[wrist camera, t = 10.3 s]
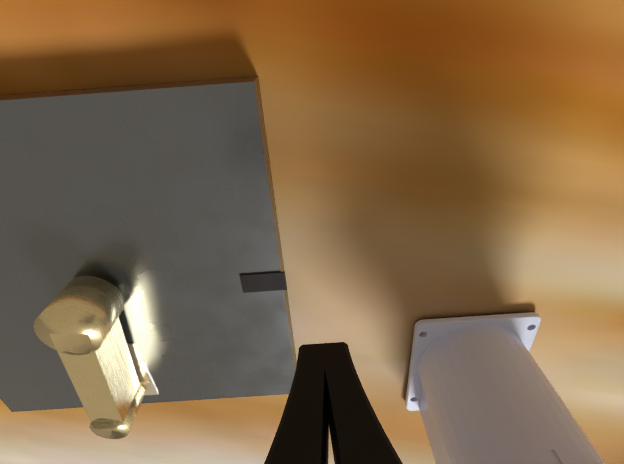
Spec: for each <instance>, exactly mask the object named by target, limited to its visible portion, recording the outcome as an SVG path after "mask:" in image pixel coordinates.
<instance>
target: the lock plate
mask: <svg viewBox="0 0 624 464" xmlns="http://www.w3.org/2000/svg"><path fill="white" fill-rule="evenodd" d="M80 276H94V277H98V278H101V279H104V280H106V281H108V282H110V283H112V284H113V285H114V286H116V287H117V288H118V289H119V290H120V292H121V293H122V295H123V297H124V301H125V305H124V309H123V310H122V312H121V314H120V315H119V320H120V323H121V327H122V330H123V333H124V336H125V339H126V343H127V346H128V349H129V352H130V355H131V358H132V362H133V365H134V368H135V371H136V374H137V377H138V381H139V384H140V385H141V386H142V387H143V388H144V390H145V395H144V397H143V400H142V402H141V403H156V402H171V401H187V400H202V399H218V398H233V397H249V396H264V395H280V394H289V393H290V390H291V386H292V382H293V379H294V375H295V370H296V366H297V362H296V354H295V347H294V339H293V332H292V325H291V317H290V310H289V302H288V295H287V286H286V278H285V271H284V265H283V258H282V250H281V243H280V236H279V228H278V221H277V213H276V206H275V198H274V191H273V184H272V176H271V169H270V161H269V154H268V147H267V139H266V132H265V124H264V117H263V109H262V102H261V95H260V87H259V80H258V76H254V77H241V78H227V79H214V80H201V81H187V82H174V83H161V84H147V85H134V86H121V87H108V88H94V89H81V90H68V91H54V92H41V93H28V94H14V95H1V96H0V399H1V400H2V401H3V402H4V403H5V404H6V406H7V407H8V408H9V409H10V410H11V411H12V412H16V411H32V410H47V409H63V408H78V407H83V405H82V403H81V400H80V398H79V396H78V394H77V392H76V390H75V388H74V386H73V384H72V381H71V379H70V377H69V375H68V373H67V371H66V369H65V367H64V364H63V362H62V360H61V358H60V356H59V354H58V352H57V351H56V350H54V349H52V348H50V347H49V346H47V345H46V344H44V343H43V342H42V341H41V340H40V339H39V338H38V336H37V335H36V333H35V330H34V322H35V320H36V318H37V317H38V316H39V315H40V314H41V313H42V311H43V310H44V309H45V308H46V307H47V306H48V305H49V304H50V302H51V301H52V300H53V299H54V298H55V297H56V296H57V295H58V293H59V292H60V291H61V290H62V289H63V288H64V287H65V286H66V284H67V283H68V282H69V281H70V280H72V279H74V278H76V277H80Z"/></svg>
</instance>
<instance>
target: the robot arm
mask: <svg viewBox="0 0 624 464" xmlns="http://www.w3.org/2000/svg"><path fill="white" fill-rule="evenodd" d="M540 322H541V318H540V316H539V315H538V314H537V313H535V312H529V313H514V314H499V315H484V316H469V317H454V318H439V319H424V320H419V321H418V322H417V323H416V324H415V328H414V336H413V344H412V352H411V360H410V368H409V376H408V384H407V392H406V401H405V405H406V409H408V410H410V411H415V410H420V413H421V416H422V419H423V423H424V426H425V429H426V432H427V436H428V439H429V442H430V446H431V449H432V452H433V455H434V459H435V462H436V464H606V463H605V462H604V461H603V459H602V458H601V456H600V455H599V453H598V452H597V450H596V449H595V447H594V446H593V445H592V443H591V442H590V440H589V439H588V437H587V436H586V434H585V433H584V431H583V430H582V428H581V427H580V426H579V424H578V423H577V421H576V420H575V418H574V417H573V415H572V414H571V412H570V411H569V410H568V408H567V407H566V405H565V404H564V402H563V401H562V399H561V398H560V396H559V395H558V394H557V392H556V391H555V389H554V388H553V386H552V385H551V383H550V382H549V380H548V379H547V377H546V376H545V375H544V373H543V372H542V370H541V369H540V367H539V366H538V364H537V363H536V361H535V360H534V359H533V357H532V356H531V354H530V353H529V351H530V348H531V345H532V343H533V340H534V338H535V335H536V332H537V330H538V327H539V325H540ZM421 332H422V333H421ZM329 428H330V435H331V441H332V448H333V455H334V461H335V464H403V463H402V462H401V460H400V458H399V457H398V455H397V453H396V451H395V450H394V448H393V446H392V444H391V443H390V441H389V439H388V437H387V435H386V434H385V432H384V430H383V428H382V426H381V424H380V422H379V420H378V418H377V416H376V414H375V412H374V410H373V408H372V406H371V404H370V402H369V400H368V398H367V396H366V394H365V391H364V389H363V387H362V385H361V382H360V380H359V377H358V375H357V373H356V370H355V367H354V365H353V362H352V359H351V356H350V352H349V349H348V345H347V344H346V343H344V342H339V343H324V344H309V345H302V346H301V347H299V353H298V360H297V366H296V370H295V375H294V379H293V382H292V386H291V390H290V393H289V396H288V400H287V403H286V406H285V409H284V412H283V415H282V418H281V421H280V424H279V427H278V429H277V432H276V435H275V437H274V440H273V443H272V445H271V448H270V451H269V453H268V456H267V458H266V461H265V463H264V464H328V440H329Z"/></svg>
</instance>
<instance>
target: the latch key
mask: <svg viewBox="0 0 624 464" xmlns="http://www.w3.org/2000/svg"><path fill="white" fill-rule="evenodd" d="M124 305H125V301H124V297H123V295H122V293H121V292H120V290H119V289H118V288H117V287H116V286H114V285H113V284H112V283H110V282H108V281H106V280H104V279H101V278H98V277H94V276H80V277H76V278H74V279H72V280H70V281H69V282H68V283H67V284H66V286H65V287H64V288H63V289H62V290H61V291H60V292H59V293H58V295H57V296H56V297H55V298H54V299H53V300H52V301H51V302H50V304H49V305H48V306H47V307H46V308H45V309H44V310H43V311H42V313H41V314H40V315H39V316H38V317H37V318H36V320H35V322H34V330H35V333H36V335H37V336H38V338H39V339H40V340H41V341H42V342H43V343H44V344H46V345H47V346H49V347H50V348H52V349H54V350H56V351H57V352H58V354H59V356H60V358H61V360H62V362H63V364H64V367H65V369H66V371H67V373H68V375H69V377H70V379H71V381H72V384H73V386H74V388H75V390H76V392H77V394H78V396H79V398H80V400H81V403H82V405H83V407H84V409H85V411H86V413H87V415H88V417H89V419H90V422H91V423H90V429H91V430H92V432H94V433H95V434H96V435H98V436H101V437H104V438H108V439H119V438H123V437H125V436H127V435H128V433H129V431H130V429H131V426H132V424H133V421H134V419H135V417H136V414H137V412H138V409H139V407H140V405H141V402H142V400H143V397H144V395H145V390H144V388H143V387H142V386H141V385H140V384H139V381H138V377H137V374H136V371H135V368H134V365H133V362H132V358H131V355H130V352H129V349H128V346H127V343H126V339H125V336H124V333H123V330H122V327H121V323H120V320H119V315H120V314H121V312H122V310H123V309H124Z"/></svg>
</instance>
